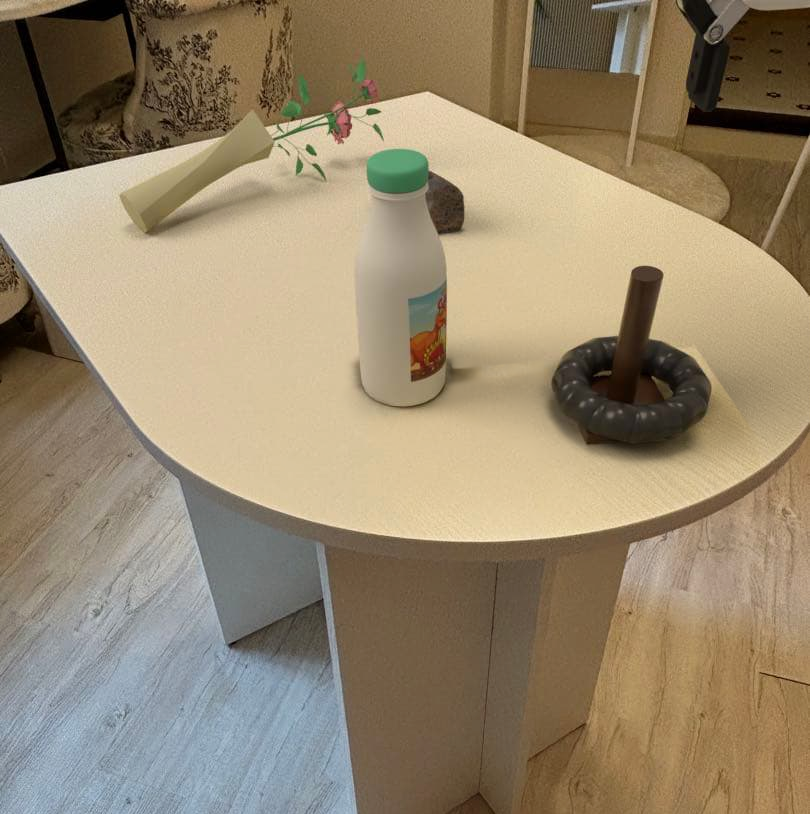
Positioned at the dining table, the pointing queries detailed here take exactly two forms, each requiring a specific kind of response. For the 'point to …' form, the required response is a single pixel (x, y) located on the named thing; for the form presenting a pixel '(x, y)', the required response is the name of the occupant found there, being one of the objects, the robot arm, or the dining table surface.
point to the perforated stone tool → (444, 204)
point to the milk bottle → (400, 285)
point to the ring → (623, 417)
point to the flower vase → (236, 156)
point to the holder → (632, 348)
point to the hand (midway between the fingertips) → (769, 98)
